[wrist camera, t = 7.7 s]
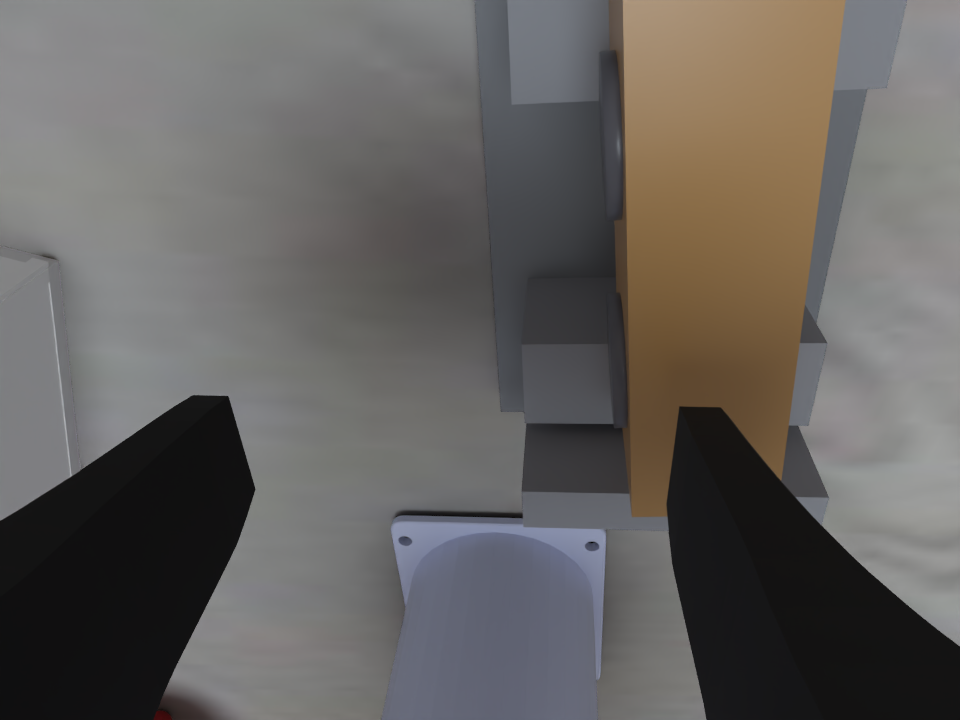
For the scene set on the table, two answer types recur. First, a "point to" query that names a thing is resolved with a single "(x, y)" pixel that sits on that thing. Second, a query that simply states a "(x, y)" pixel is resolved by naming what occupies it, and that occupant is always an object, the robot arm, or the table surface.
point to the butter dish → (33, 381)
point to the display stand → (610, 247)
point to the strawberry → (162, 715)
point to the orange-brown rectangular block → (710, 214)
